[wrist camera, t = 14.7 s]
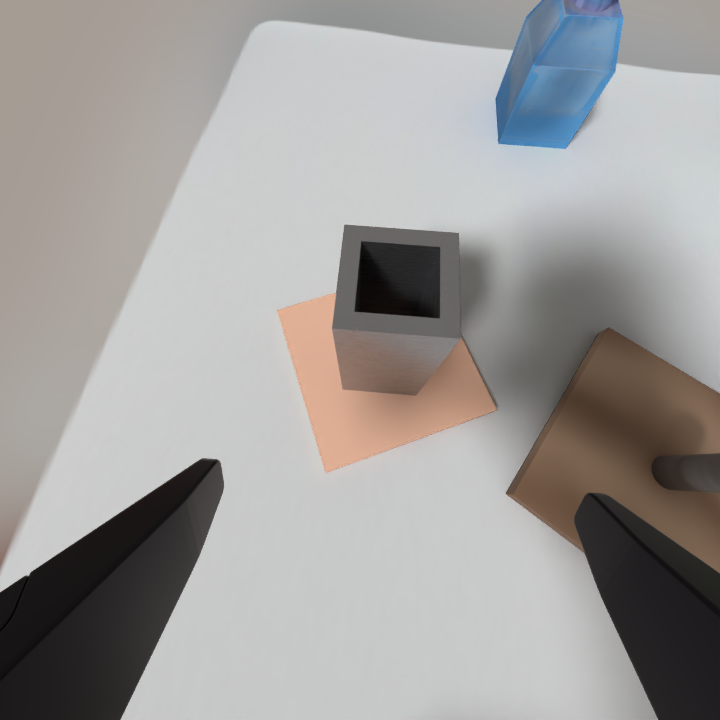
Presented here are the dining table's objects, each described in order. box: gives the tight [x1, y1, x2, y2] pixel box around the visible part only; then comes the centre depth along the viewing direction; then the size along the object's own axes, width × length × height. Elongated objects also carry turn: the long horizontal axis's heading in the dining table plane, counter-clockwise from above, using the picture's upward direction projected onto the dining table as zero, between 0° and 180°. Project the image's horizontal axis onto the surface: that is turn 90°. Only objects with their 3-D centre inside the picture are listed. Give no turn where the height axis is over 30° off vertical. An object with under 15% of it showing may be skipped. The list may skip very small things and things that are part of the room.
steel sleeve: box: [332, 225, 461, 396], centre depth 18 cm, size 5×5×10 cm
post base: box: [506, 328, 720, 573], centre depth 19 cm, size 14×14×5 cm
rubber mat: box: [277, 293, 497, 473], centre depth 23 cm, size 12×12×1 cm
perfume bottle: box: [496, 0, 623, 149], centre depth 26 cm, size 6×6×12 cm
